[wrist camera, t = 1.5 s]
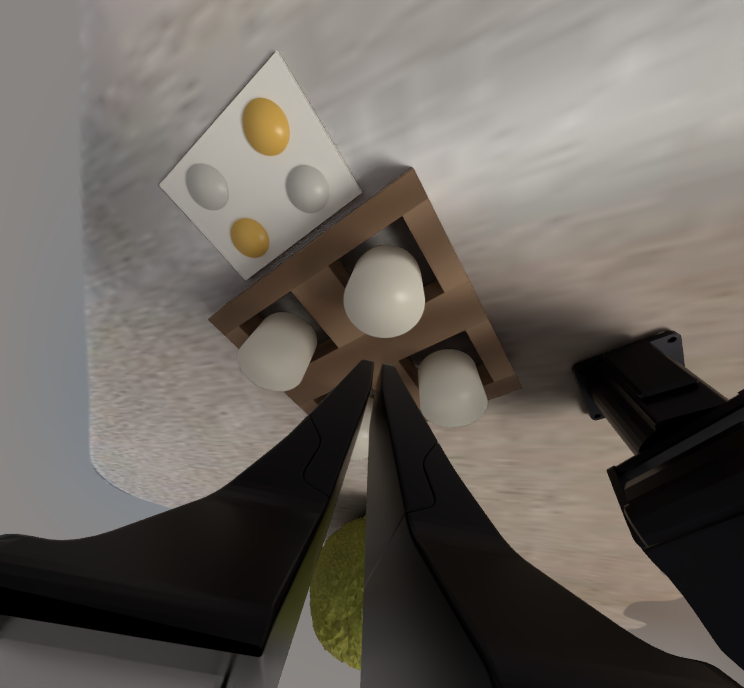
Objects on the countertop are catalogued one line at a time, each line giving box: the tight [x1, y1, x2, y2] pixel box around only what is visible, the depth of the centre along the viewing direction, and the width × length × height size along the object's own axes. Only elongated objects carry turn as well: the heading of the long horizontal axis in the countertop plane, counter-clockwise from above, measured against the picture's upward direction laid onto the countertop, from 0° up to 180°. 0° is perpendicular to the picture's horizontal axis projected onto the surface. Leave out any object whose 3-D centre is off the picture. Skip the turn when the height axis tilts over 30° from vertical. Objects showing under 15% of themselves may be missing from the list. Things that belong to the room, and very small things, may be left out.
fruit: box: [310, 515, 366, 670], centre depth 32 cm, size 16×14×15 cm
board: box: [208, 167, 522, 422], centre depth 21 cm, size 16×16×2 cm
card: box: [159, 51, 362, 280], centre depth 16 cm, size 7×10×1 cm
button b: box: [350, 396, 374, 460], centre depth 21 cm, size 4×4×3 cm
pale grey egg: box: [418, 349, 488, 428], centre depth 19 cm, size 4×4×3 cm
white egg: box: [344, 245, 425, 338], centre depth 15 cm, size 4×4×3 cm
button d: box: [237, 312, 317, 391], centre depth 18 cm, size 4×4×3 cm
